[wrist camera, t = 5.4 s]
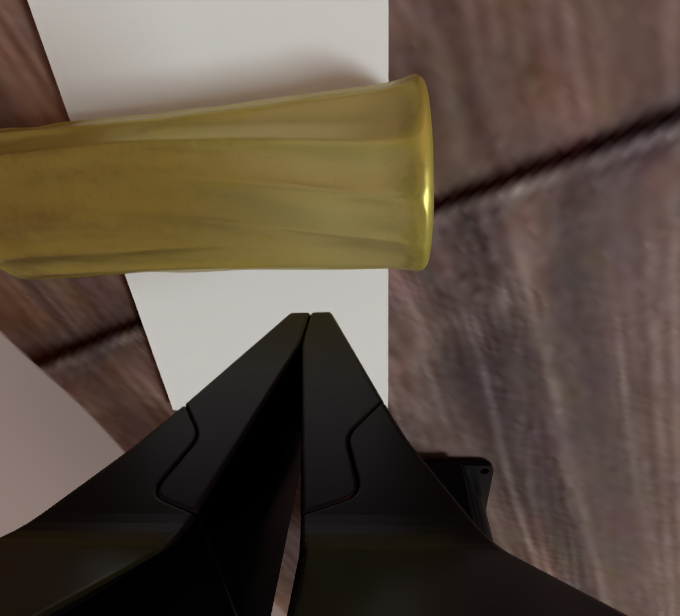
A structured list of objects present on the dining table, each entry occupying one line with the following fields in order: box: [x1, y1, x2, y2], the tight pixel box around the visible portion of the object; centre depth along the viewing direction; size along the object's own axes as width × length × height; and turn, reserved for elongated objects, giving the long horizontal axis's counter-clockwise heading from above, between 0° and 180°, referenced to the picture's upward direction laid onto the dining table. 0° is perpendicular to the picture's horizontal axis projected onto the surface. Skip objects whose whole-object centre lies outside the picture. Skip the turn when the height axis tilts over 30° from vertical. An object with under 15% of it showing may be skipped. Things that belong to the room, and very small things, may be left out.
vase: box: [0, 74, 434, 279], centre depth 15 cm, size 6×6×14 cm
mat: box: [27, 0, 388, 410], centre depth 18 cm, size 24×12×1 cm, turn 3°
